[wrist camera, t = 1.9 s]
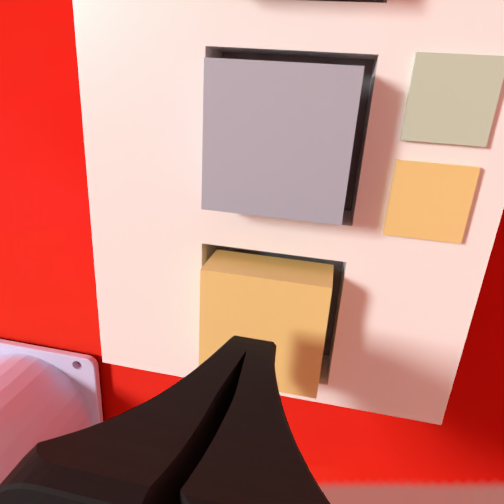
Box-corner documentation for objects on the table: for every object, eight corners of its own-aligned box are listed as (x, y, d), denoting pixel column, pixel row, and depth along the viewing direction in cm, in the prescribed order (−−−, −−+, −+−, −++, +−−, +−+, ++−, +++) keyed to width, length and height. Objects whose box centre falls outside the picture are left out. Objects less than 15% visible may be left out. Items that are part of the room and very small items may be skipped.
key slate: (218, 195, 15) (201, 209, 13) (222, 61, 14) (203, 57, 12) (341, 208, 14) (341, 225, 13) (361, 69, 13) (364, 65, 11)
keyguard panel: (134, 326, 21) (100, 364, 18) (108, -202, 14) (44, -282, 11) (426, 376, 19) (442, 428, 16) (582, -227, 11) (664, -338, 9)
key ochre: (213, 347, 18) (198, 377, 16) (216, 249, 16) (200, 269, 14) (319, 365, 17) (316, 399, 15) (333, 264, 15) (332, 288, 13)
